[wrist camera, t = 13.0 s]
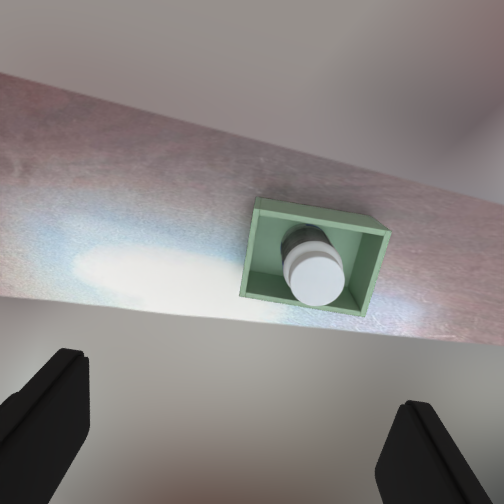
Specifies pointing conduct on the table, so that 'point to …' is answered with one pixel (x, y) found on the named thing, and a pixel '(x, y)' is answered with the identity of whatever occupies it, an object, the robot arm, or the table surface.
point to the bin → (341, 236)
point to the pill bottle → (311, 265)
